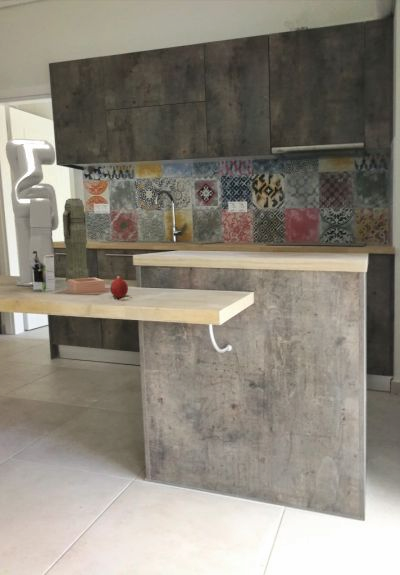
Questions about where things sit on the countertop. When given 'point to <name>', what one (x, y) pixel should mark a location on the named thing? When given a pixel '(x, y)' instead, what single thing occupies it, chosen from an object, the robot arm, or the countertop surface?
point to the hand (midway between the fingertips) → (44, 280)
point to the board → (82, 293)
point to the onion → (119, 288)
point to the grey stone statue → (75, 239)
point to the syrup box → (46, 275)
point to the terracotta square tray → (85, 285)
